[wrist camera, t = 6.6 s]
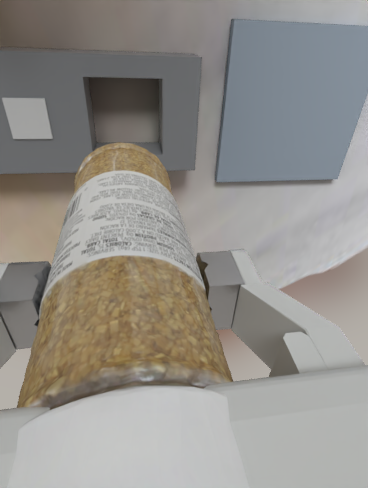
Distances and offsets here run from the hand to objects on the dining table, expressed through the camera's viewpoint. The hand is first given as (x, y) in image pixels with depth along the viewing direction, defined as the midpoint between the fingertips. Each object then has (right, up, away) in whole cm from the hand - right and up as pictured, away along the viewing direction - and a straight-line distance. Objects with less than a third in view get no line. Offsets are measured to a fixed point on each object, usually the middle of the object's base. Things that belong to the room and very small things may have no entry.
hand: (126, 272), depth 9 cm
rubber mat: (+12, +14, +21) cm, 28 cm away
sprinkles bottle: (-1, +4, +5) cm, 7 cm away
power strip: (-9, +13, +17) cm, 24 cm away
